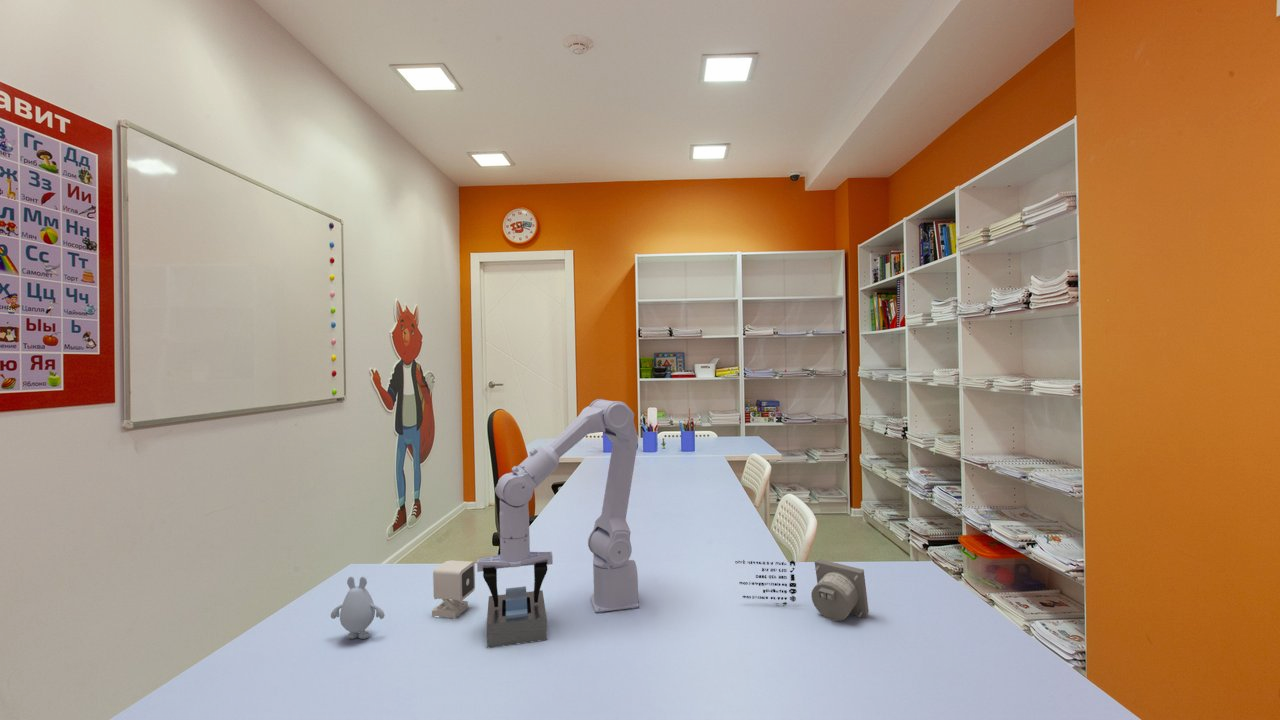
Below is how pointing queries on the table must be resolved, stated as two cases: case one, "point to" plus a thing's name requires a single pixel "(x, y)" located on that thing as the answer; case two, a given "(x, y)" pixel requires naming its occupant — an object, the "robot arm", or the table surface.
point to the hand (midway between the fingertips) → (516, 602)
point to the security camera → (453, 587)
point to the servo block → (516, 602)
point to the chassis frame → (516, 622)
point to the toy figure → (357, 610)
